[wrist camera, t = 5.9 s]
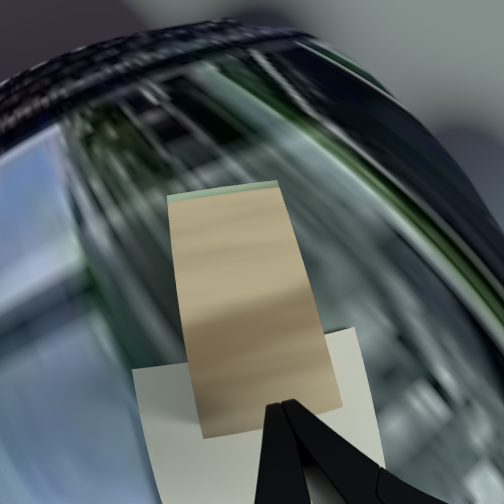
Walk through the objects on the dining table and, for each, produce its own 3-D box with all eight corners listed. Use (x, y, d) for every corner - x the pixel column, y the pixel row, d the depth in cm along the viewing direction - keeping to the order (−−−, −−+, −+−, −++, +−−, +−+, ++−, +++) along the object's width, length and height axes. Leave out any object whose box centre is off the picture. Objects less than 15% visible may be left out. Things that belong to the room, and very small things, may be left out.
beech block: (343, 406, 10) (277, 180, 14) (203, 439, 9) (166, 195, 14) (310, 407, 15) (265, 234, 19) (211, 428, 14) (180, 248, 18)
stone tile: (389, 511, 12) (392, 512, 12) (184, 560, 11) (183, 564, 10) (351, 328, 17) (354, 327, 17) (134, 369, 15) (131, 369, 15)
